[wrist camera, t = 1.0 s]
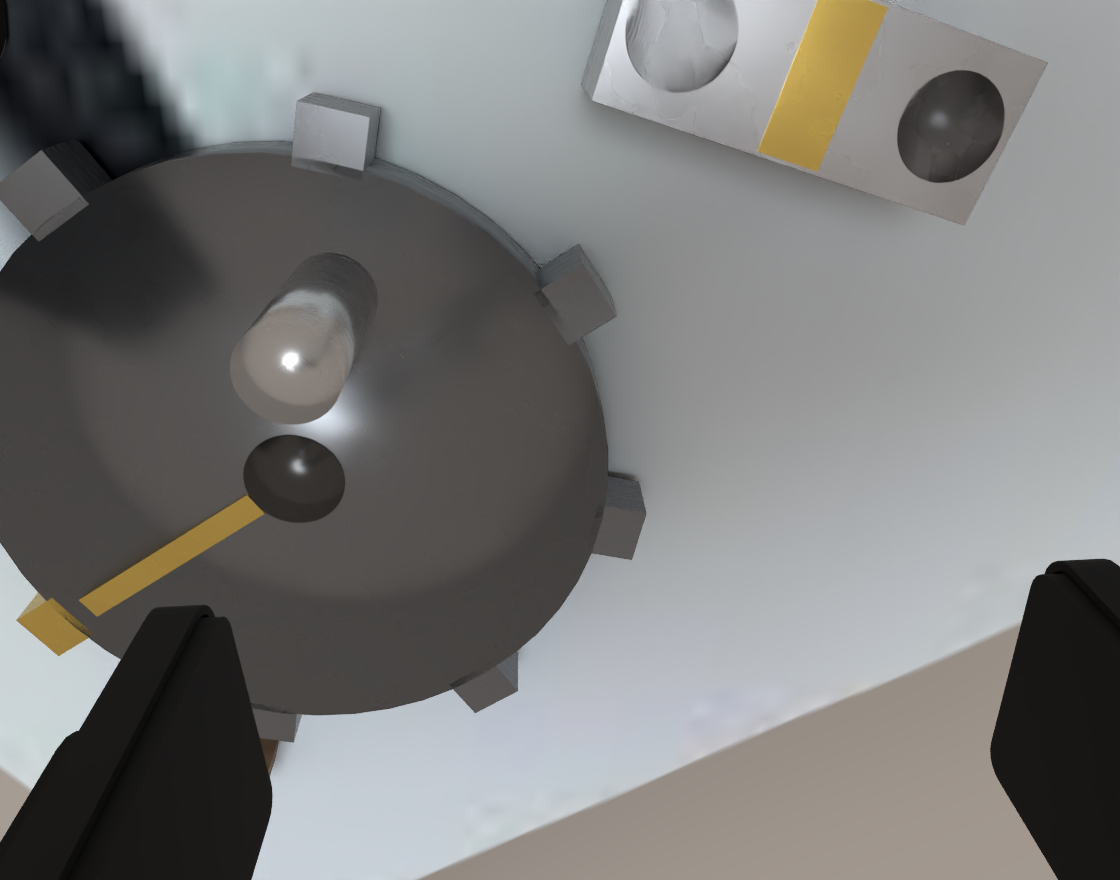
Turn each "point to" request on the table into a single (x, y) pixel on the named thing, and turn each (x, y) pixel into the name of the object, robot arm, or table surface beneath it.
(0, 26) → the camera
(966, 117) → the dimpled metal block
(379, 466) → the sprocket
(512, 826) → the table surface
